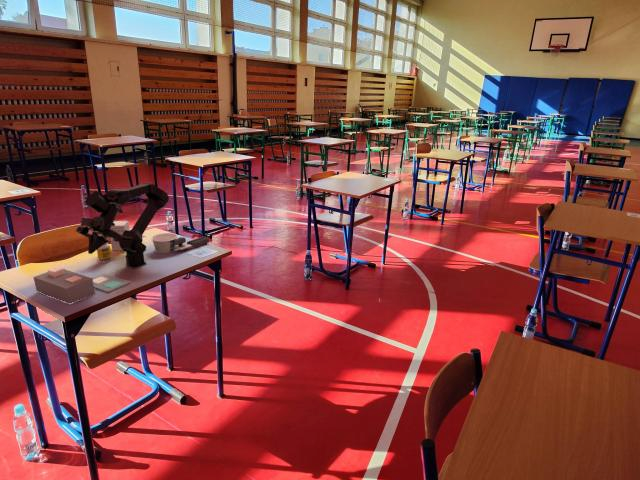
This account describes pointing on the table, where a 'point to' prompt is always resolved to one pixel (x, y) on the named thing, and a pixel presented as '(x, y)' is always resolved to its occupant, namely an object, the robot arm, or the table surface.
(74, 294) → the console
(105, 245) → the supplement bottle
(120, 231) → the white square tower
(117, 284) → the pattern card
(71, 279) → the button
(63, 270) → the button
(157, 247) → the food container
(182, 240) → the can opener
